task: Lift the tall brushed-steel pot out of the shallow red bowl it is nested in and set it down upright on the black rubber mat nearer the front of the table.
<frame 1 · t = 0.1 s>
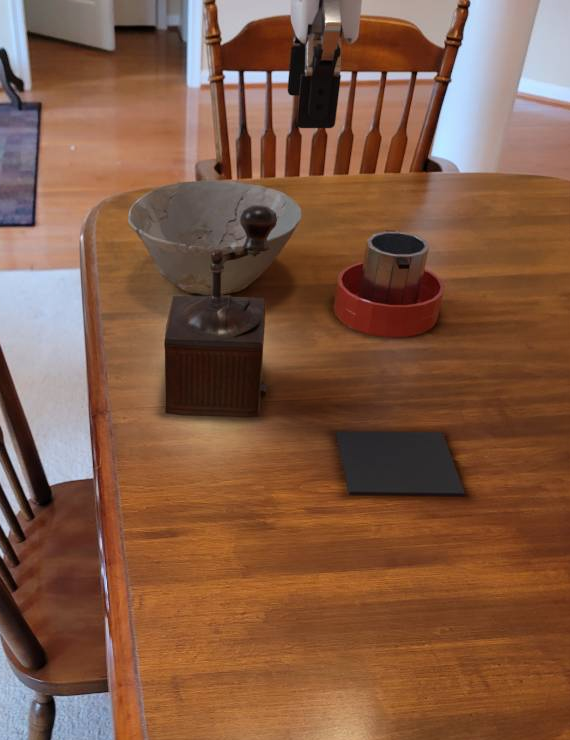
hand: (309, 110, 75), 29 cm above the table, tool pointing down, fingers open, 9 cm apart
shallow red bowl: (384, 315, 107), on the table
steel pot: (385, 311, 107), resting on shallow red bowl
ceramic bowl: (212, 284, 115), on the table
rubber mat: (396, 467, 84), on the table
manual coffee grinder: (217, 383, 96), on the table
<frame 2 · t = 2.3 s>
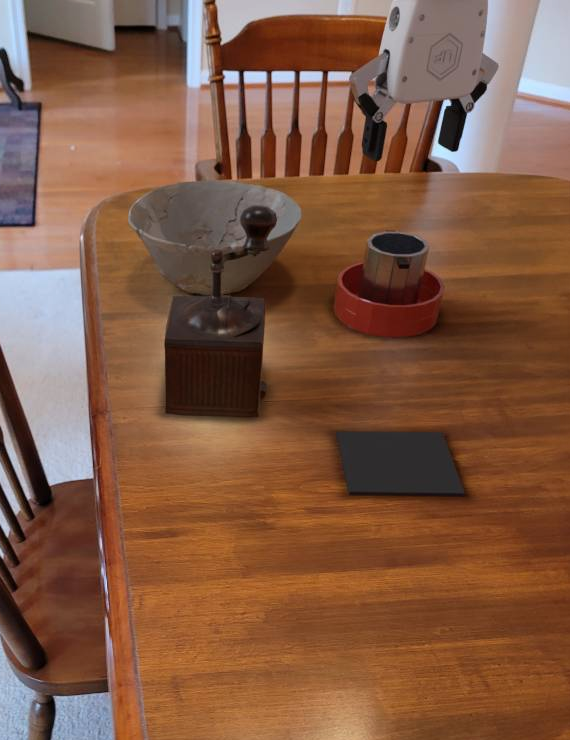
hand: (409, 152, 93), 20 cm above the table, tool pointing down, fingers open, 9 cm apart
nothing on the table moved.
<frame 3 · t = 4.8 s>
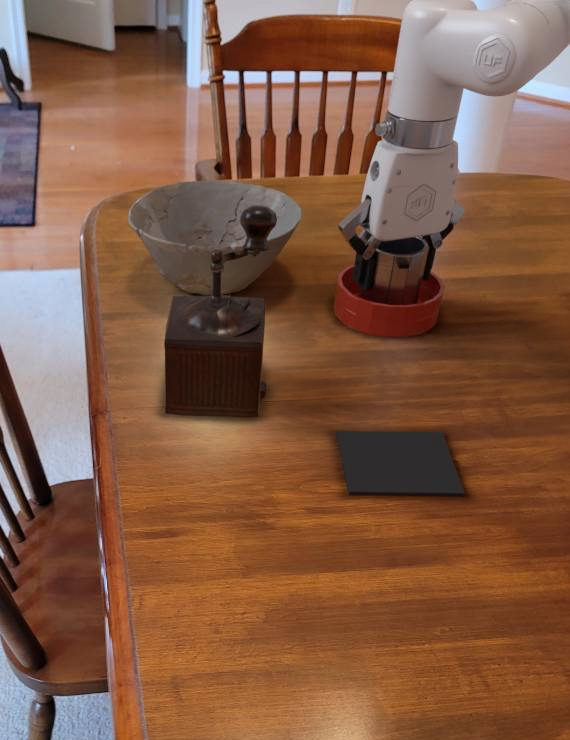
hand: (391, 279, 104), 5 cm above the table, tool pointing down, fingers closed on steel pot, 7 cm apart
steel pot: (385, 311, 107), point 1 cm above the table, touching shallow red bowl, gripper
everything else where it was.
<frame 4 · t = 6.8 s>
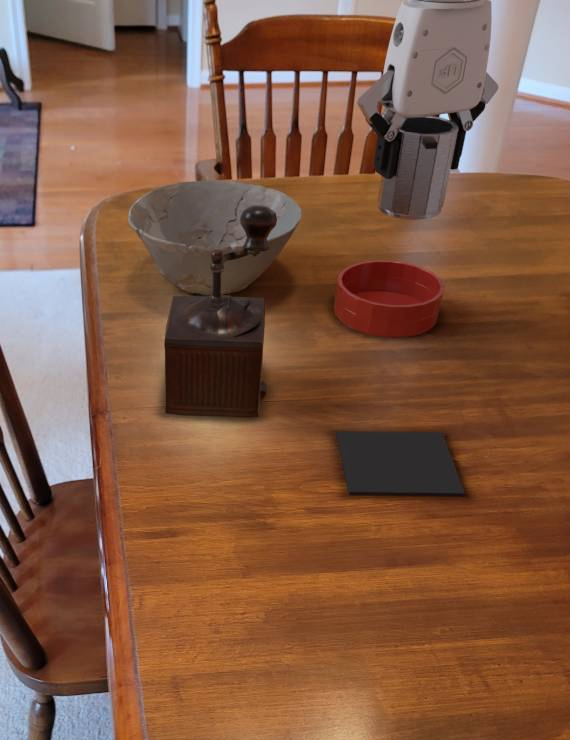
hand: (416, 169, 94), 18 cm above the table, tool pointing down, fingers closed on steel pot, 7 cm apart
steel pot: (409, 208, 97), point 14 cm above the table, touching gripper
everything else where it was.
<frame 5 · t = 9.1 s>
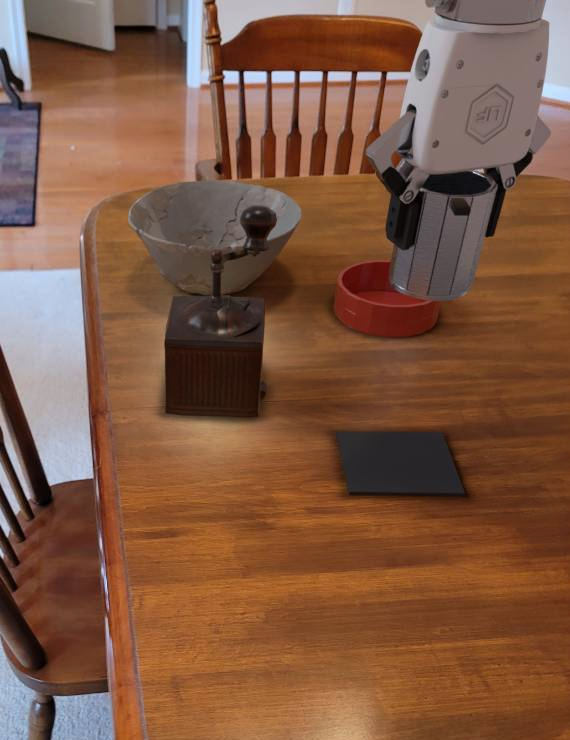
hand: (439, 236, 73), 22 cm above the table, tool pointing down, fingers closed on steel pot, 7 cm apart
steel pot: (429, 282, 76), point 17 cm above the table, touching gripper
everything else where it was.
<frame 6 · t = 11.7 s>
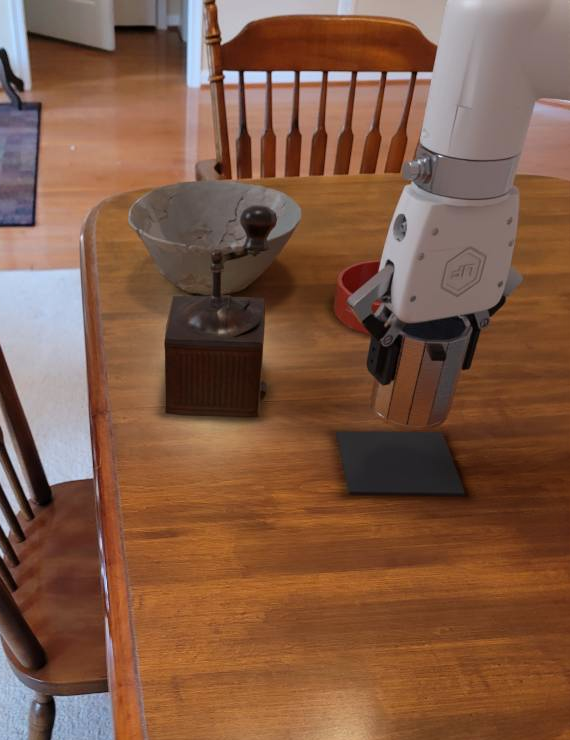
hand: (418, 369, 76), 11 cm above the table, tool pointing down, fingers closed on steel pot, 7 cm apart
steel pot: (408, 408, 79), point 7 cm above the table, touching gripper
everything else where it was.
when the fingers open (5 cm above the table, at t = 13.8 s): steel pot stays where it is, resting on rubber mat.
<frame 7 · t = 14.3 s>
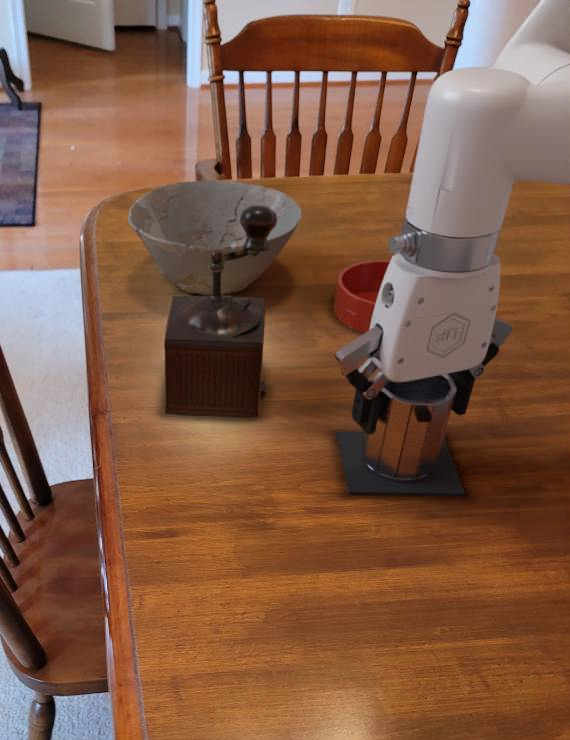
hand: (408, 416, 80), 6 cm above the table, tool pointing down, fingers open, 9 cm apart
steel pot: (397, 460, 83), point 1 cm above the table, touching rubber mat
everything else where it was.
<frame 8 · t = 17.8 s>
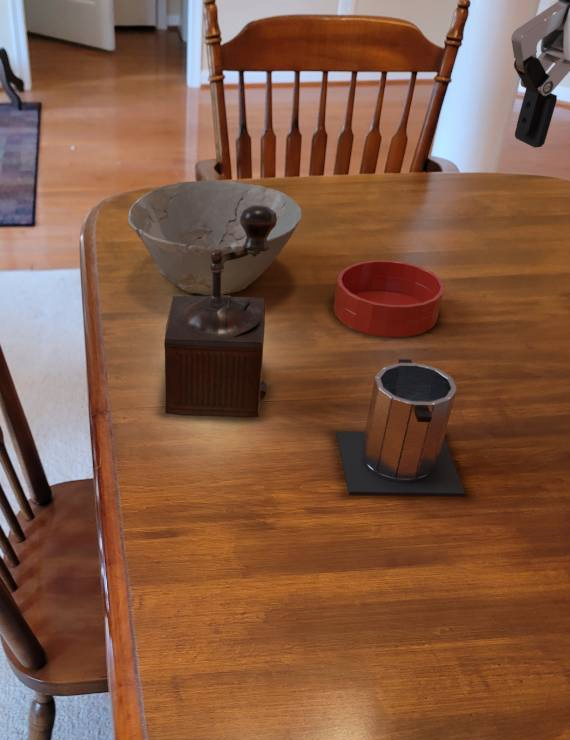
nothing on the table moved.
at the end: steel pot 0.0 cm off-centre on the rubber mat, point 0.8 cm above the rubber mat's base; steel pot tilted 0° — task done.
